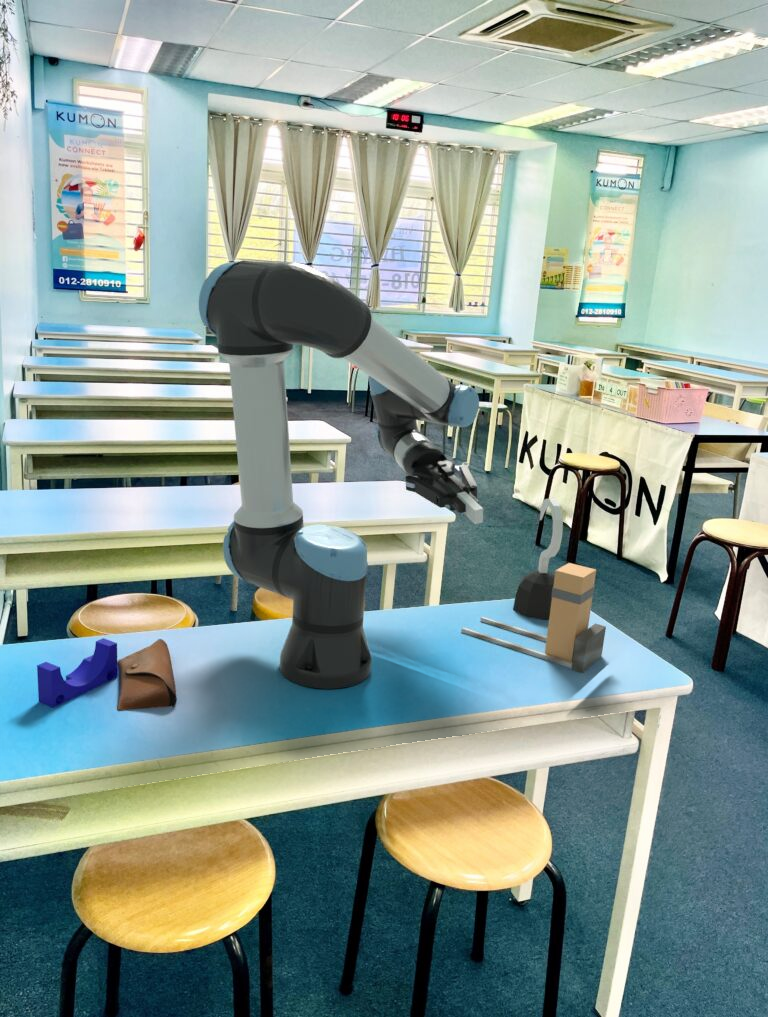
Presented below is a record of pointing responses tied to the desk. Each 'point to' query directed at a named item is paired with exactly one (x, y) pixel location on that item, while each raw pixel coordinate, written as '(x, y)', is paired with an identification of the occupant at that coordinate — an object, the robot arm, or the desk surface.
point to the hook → (541, 572)
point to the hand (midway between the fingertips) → (478, 516)
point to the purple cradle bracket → (78, 675)
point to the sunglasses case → (147, 679)
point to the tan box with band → (569, 609)
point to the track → (584, 649)
